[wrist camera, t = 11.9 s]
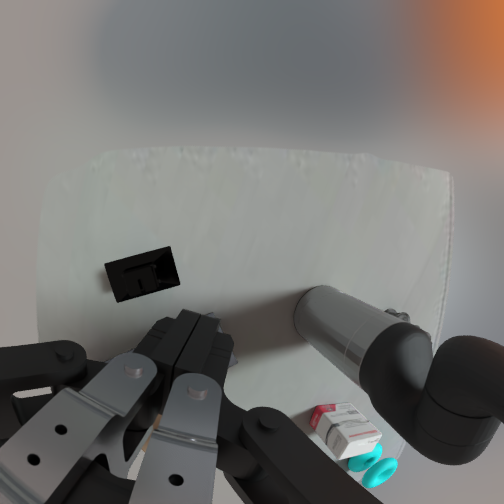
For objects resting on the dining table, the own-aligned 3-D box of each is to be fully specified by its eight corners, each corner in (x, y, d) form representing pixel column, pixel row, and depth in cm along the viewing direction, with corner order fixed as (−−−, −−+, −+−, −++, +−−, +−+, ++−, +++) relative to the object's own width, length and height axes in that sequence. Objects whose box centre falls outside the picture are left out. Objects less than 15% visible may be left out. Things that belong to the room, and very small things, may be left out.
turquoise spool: (404, 456, 47) (392, 479, 48) (382, 435, 56) (372, 458, 58) (372, 473, 44) (361, 495, 46) (350, 448, 54) (342, 471, 55)
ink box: (308, 424, 48) (337, 461, 37) (316, 404, 48) (348, 441, 36) (342, 419, 51) (373, 452, 39) (350, 401, 50) (384, 433, 39)
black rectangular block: (110, 309, 36) (103, 320, 32) (93, 258, 35) (84, 265, 30) (193, 286, 39) (196, 295, 35) (179, 234, 38) (181, 237, 33)
